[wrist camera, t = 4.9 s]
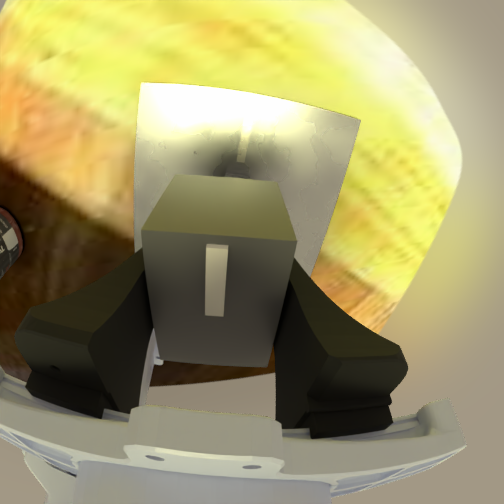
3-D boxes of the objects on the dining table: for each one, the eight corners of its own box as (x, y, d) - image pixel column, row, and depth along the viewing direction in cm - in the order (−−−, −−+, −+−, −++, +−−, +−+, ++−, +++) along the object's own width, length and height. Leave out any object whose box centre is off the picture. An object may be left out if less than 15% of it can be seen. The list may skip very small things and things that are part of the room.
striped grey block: (260, 289, 16) (267, 370, 11) (177, 283, 15) (159, 363, 11) (277, 181, 12) (298, 244, 8) (175, 174, 12) (138, 233, 8)
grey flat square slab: (304, 285, 24) (311, 314, 21) (137, 263, 23) (124, 290, 20) (358, 119, 17) (380, 128, 14) (143, 82, 15) (123, 84, 12)
